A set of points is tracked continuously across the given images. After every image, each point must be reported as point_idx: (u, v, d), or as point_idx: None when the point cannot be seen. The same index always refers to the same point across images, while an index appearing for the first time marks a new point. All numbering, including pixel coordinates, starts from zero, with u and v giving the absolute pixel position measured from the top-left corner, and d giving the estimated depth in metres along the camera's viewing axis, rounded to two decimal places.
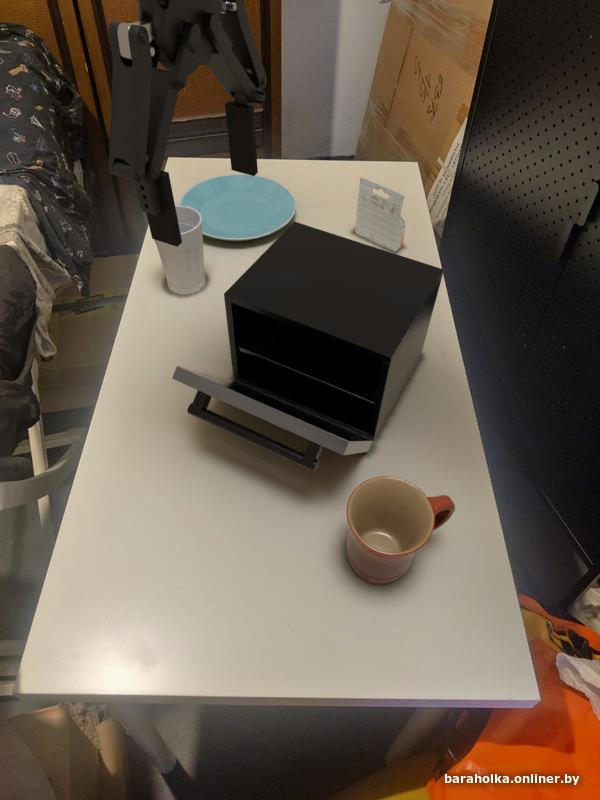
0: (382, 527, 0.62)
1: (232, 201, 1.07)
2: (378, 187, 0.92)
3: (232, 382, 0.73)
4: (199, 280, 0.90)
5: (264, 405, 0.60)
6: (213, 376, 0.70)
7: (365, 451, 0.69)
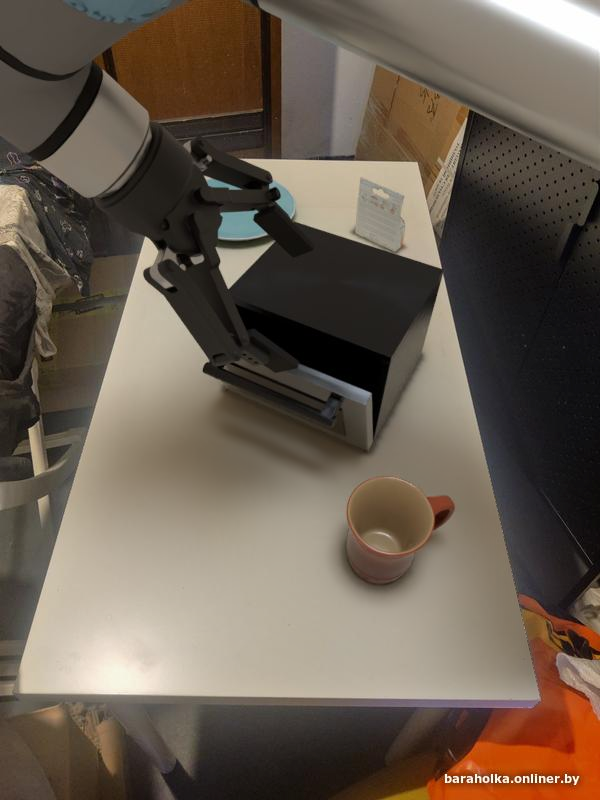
0: (382, 527, 0.62)
1: None
2: (378, 187, 0.92)
3: None
4: None
5: None
6: None
7: (368, 444, 0.69)
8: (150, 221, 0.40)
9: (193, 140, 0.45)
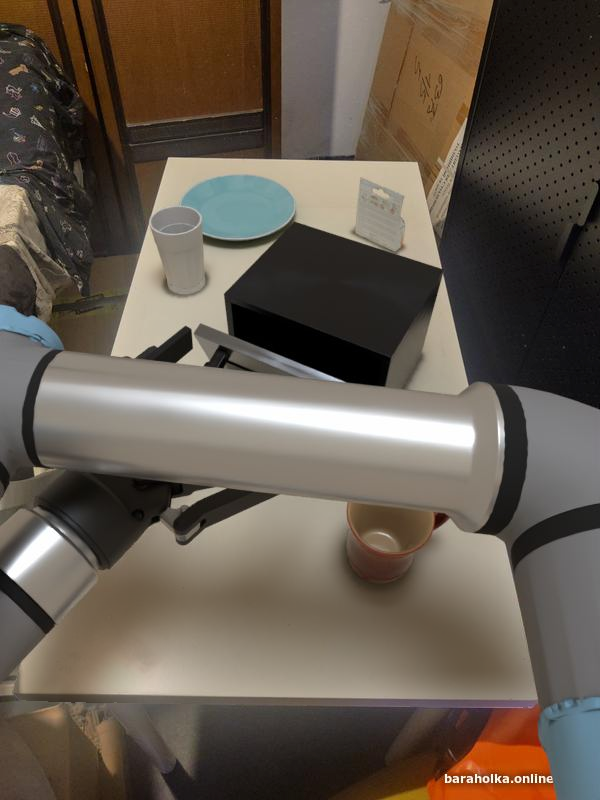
0: (382, 527, 0.62)
1: (232, 201, 1.07)
2: (378, 187, 0.92)
3: None
4: (199, 280, 0.90)
5: (287, 359, 0.61)
6: None
7: None
8: (132, 530, 0.39)
9: None
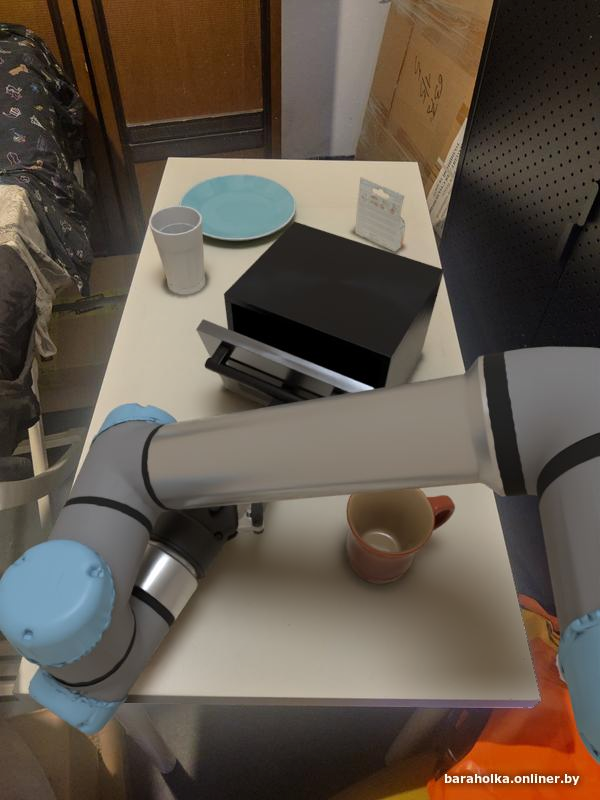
0: (382, 527, 0.62)
1: (232, 201, 1.07)
2: (378, 187, 0.92)
3: None
4: (199, 280, 0.90)
5: (290, 355, 0.61)
6: None
7: None
8: (216, 547, 0.54)
9: None
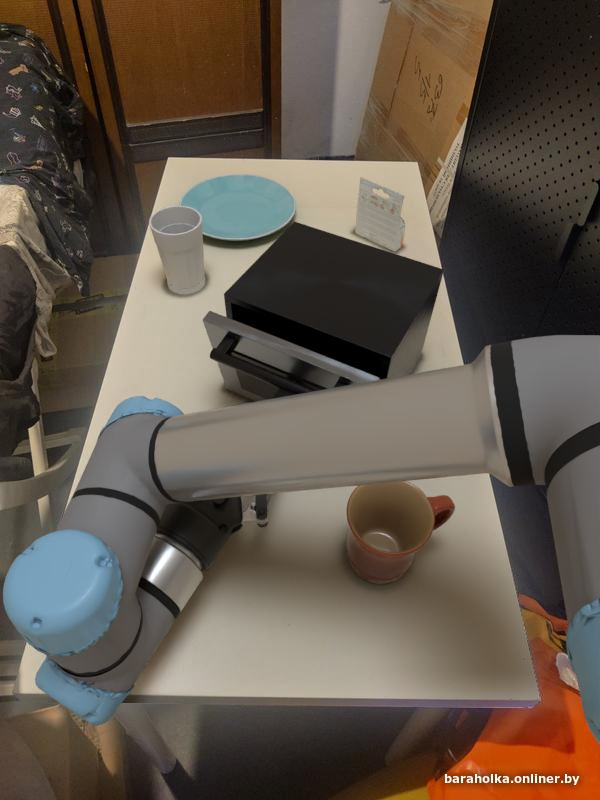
0: (382, 527, 0.62)
1: (232, 201, 1.07)
2: (378, 187, 0.92)
3: None
4: (199, 280, 0.90)
5: (296, 345, 0.61)
6: None
7: None
8: (221, 539, 0.55)
9: None
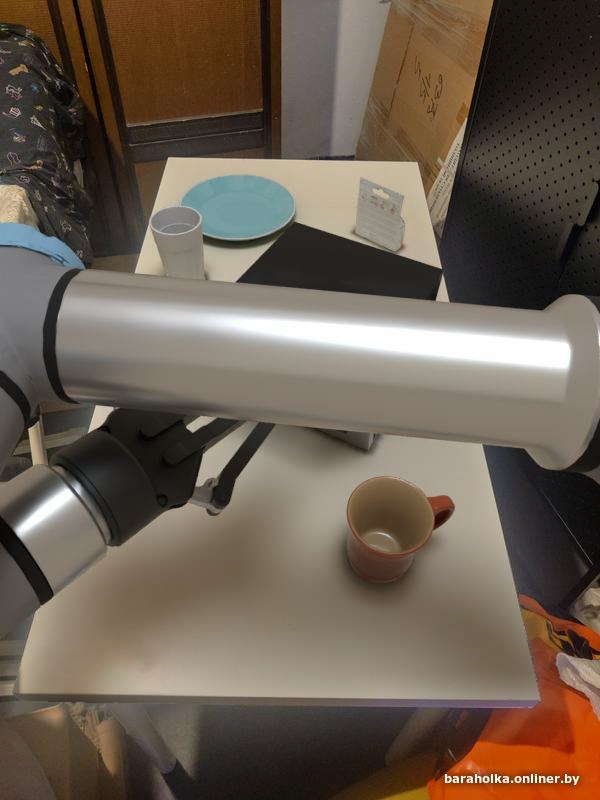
0: (382, 527, 0.62)
1: (232, 201, 1.07)
2: (378, 187, 0.92)
3: None
4: None
5: None
6: None
7: (369, 442, 0.69)
8: (153, 516, 0.37)
9: None
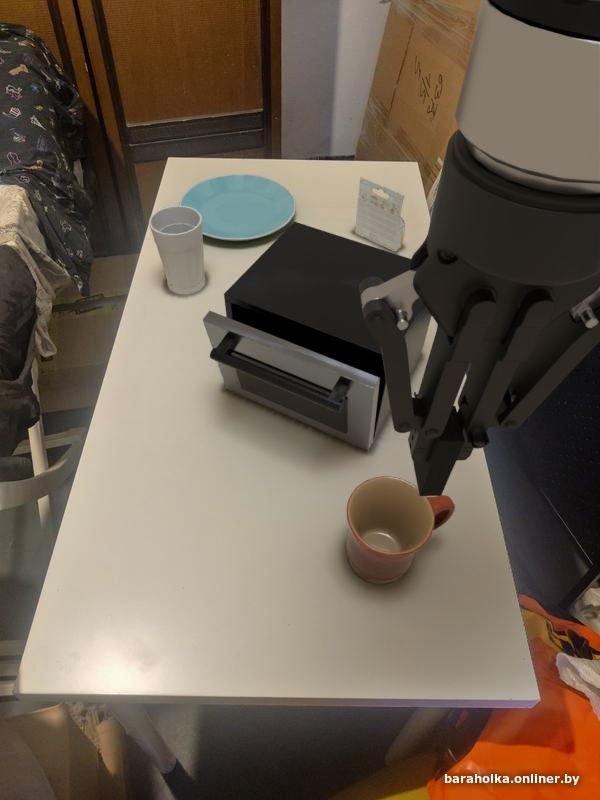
0: (382, 527, 0.62)
1: (232, 201, 1.07)
2: (378, 187, 0.92)
3: None
4: (199, 280, 0.90)
5: (296, 345, 0.61)
6: None
7: (369, 442, 0.69)
8: (442, 230, 0.22)
9: None
